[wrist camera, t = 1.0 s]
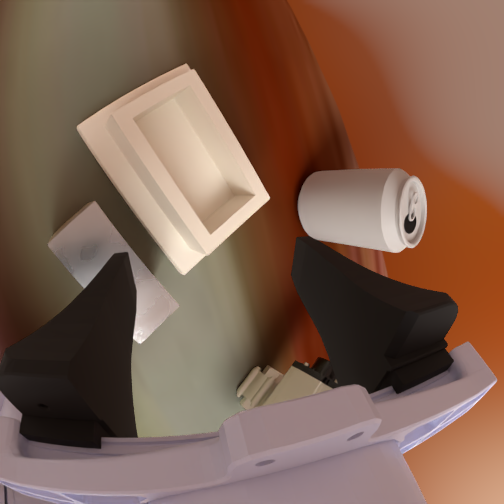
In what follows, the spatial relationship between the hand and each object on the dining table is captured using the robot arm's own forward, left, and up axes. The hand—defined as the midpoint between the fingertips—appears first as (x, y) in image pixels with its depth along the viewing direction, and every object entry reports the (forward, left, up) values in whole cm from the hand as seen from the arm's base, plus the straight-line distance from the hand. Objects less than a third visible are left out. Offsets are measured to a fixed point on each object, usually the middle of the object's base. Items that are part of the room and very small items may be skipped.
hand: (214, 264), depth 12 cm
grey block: (-4, +1, -11) cm, 12 cm away
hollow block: (+5, +3, -11) cm, 13 cm away
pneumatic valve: (-2, -19, -12) cm, 22 cm away
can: (+16, -9, -12) cm, 22 cm away
